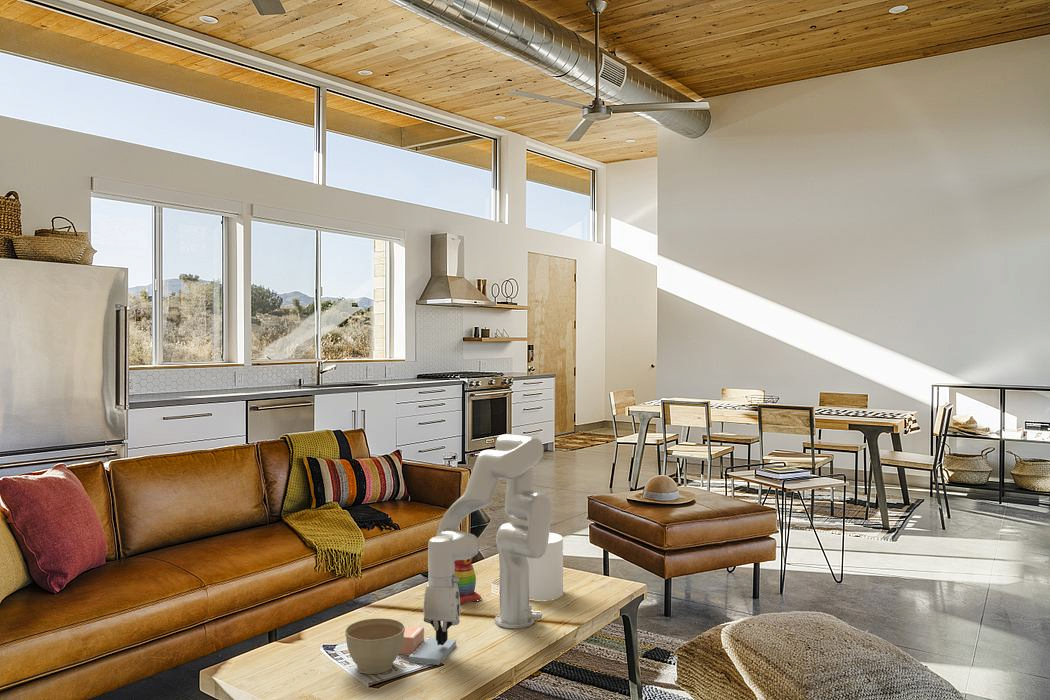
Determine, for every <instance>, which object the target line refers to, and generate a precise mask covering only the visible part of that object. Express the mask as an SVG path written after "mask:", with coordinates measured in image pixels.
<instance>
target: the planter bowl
mask: <svg viewBox="0 0 1050 700" xmlns="http://www.w3.org/2000/svg"><path fill="white" fill-rule="evenodd" d="M405 629H406V626H405V624H404V623H403V622H401V621H400V620H397V619H392V618H386V617H385V618H382V617H381V618H380V617H379V618H368V619H367V618H365V619H362V620H359V621H355V622H353V623H351V624H349V625H348V626H347V627H346V628H345V632H344V633H345V637H346V638H345V639H346V646H347V650H348V654H349V655H350V658H351V660H353V662H354V663H355V665H356V668H357V670H358V671H359V672H360V673H363V674H367V675H368V674H369V675H376V674H383V673H386V672H388V671H390V670H391V669H392V668H393V664H394V662H395V660H396V659H397V658H398V656H399V655H400V654H399V652H400V650H401V647H402V644H403V639H404V631H405Z"/></svg>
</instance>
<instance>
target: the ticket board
mask: <svg viewBox="0 0 1050 700" xmlns="http://www.w3.org/2000/svg"><path fill="white" fill-rule="evenodd" d="M456 645H457V640H456V639H450V638H449V639H447V641H446V642H445V644H444V645H437V641H436V637H429V636H428V637H426V638H424V641H423V642H422V643H421V644H420V645H419V647H418V648H417V649H416V650H415V651H414V652H413V653H412V654H411V655H408V662H410V663H417V664H427V665H437V666H439V665H440V664H442V662H443V661H444V660H445V659H446V657H447V656H448V655H449V654H450V653H451V652H452V650H453V649H454V648H455V647H456Z"/></svg>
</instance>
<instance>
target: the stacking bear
mask: <svg viewBox="0 0 1050 700" xmlns="http://www.w3.org/2000/svg"><path fill="white" fill-rule="evenodd" d="M473 558H474V557H472V558H470V559H466V560H456V561H455V562H454V574H455V577H458V578H459V582H456V584H457V585H458V590H459V596H460V604H462V605H464V604H466V603H465V602H467V603H469V602H468V601H477V600H480V599H481V600H482V597H481V595H480V594H479V593H477V592H476V591H475V590H476V583H477V576H476V572H475V569H474V566H473V564H472V562H473ZM481 600H480V601H481ZM463 603H464V604H463Z"/></svg>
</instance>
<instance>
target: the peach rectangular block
mask: <svg viewBox="0 0 1050 700" xmlns="http://www.w3.org/2000/svg"><path fill="white" fill-rule="evenodd" d="M424 640H425V628H424V627H421V626H410V625H408V626H407V627H405V631H404V639H403V644H402V647H401V650H400V652H399V654H398V655H406V656H410V655H411V654H412V653H413V652H414V651H415V650H416V649H417V648H418V647H419V645H420V644H421V643H422V642H423V641H424Z"/></svg>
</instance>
